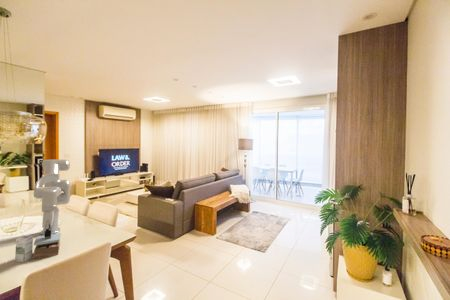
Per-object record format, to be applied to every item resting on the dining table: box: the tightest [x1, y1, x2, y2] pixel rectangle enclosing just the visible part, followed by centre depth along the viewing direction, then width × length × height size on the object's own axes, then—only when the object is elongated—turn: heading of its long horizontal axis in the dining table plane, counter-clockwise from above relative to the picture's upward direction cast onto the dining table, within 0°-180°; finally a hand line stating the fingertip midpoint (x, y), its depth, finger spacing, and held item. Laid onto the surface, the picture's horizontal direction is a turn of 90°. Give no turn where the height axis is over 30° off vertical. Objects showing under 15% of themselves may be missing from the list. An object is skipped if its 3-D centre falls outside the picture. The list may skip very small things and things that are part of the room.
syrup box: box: [14, 235, 34, 263], centre depth 131 cm, size 6×6×14 cm
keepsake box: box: [33, 241, 61, 260], centre depth 139 cm, size 10×12×6 cm
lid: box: [33, 225, 62, 246], centre depth 139 cm, size 11×13×10 cm
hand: (48, 235), depth 139 cm, fingers closed on lid, 3 cm apart
